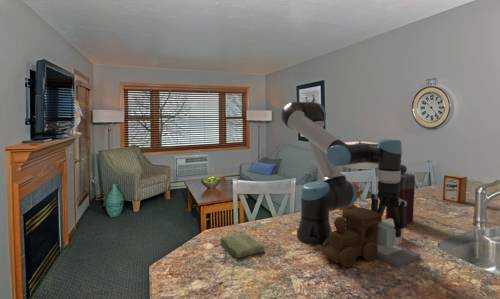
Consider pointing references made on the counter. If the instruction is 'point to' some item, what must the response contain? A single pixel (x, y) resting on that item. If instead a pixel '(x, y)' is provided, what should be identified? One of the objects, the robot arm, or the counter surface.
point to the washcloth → (241, 245)
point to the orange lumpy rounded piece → (356, 198)
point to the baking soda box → (454, 188)
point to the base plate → (396, 255)
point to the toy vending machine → (405, 193)
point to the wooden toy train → (353, 236)
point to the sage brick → (386, 234)
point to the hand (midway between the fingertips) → (387, 241)
